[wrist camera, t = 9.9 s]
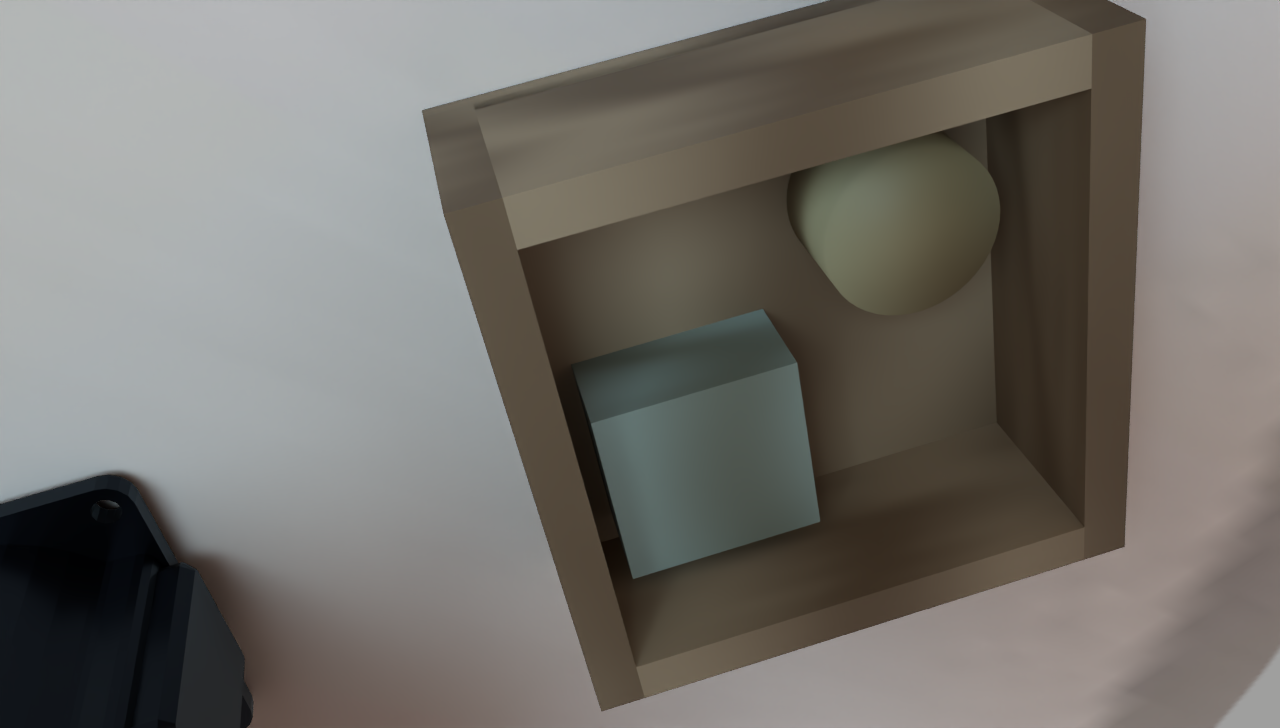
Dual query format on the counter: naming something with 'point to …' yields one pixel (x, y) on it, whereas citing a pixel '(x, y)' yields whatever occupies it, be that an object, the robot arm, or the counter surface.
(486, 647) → the counter surface
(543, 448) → the box
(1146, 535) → the counter surface
